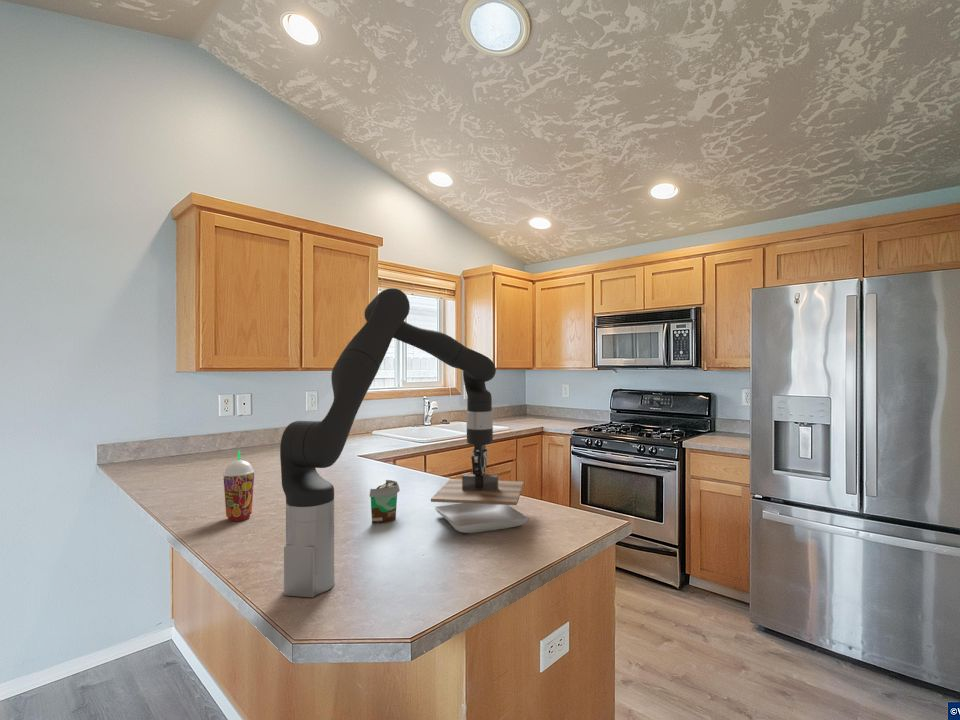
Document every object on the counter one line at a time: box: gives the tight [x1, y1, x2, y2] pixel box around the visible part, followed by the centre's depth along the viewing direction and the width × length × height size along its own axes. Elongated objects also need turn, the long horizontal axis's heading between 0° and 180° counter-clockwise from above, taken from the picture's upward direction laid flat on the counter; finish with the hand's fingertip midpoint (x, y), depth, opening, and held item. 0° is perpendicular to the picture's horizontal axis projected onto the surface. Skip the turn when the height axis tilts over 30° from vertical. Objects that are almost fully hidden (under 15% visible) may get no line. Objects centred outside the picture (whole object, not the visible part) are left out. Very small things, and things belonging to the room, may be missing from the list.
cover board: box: [430, 473, 525, 506], centre depth 138 cm, size 23×23×5 cm
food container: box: [369, 479, 400, 525], centre depth 140 cm, size 12×6×10 cm, turn 168°
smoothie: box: [222, 450, 256, 522], centre depth 142 cm, size 8×8×20 cm
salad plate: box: [434, 503, 529, 534], centre depth 137 cm, size 21×21×3 cm
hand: (480, 486), depth 138 cm, fingers closed on cover board, 3 cm apart
